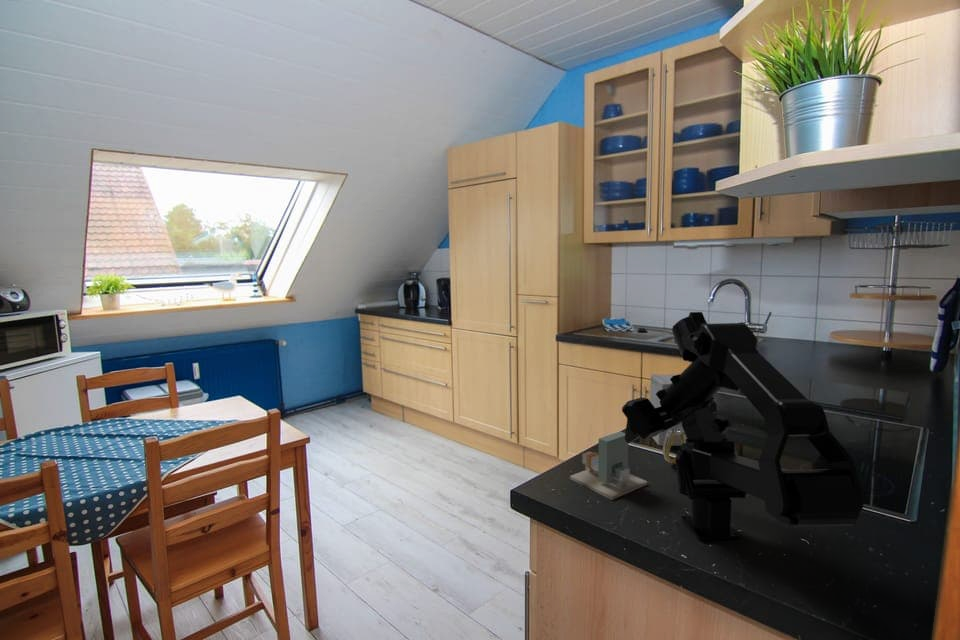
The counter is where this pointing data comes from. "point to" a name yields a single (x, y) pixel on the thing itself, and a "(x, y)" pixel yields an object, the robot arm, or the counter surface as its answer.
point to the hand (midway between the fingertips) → (644, 435)
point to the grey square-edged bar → (617, 469)
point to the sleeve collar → (611, 455)
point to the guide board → (609, 489)
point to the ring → (668, 445)
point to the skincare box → (656, 385)
